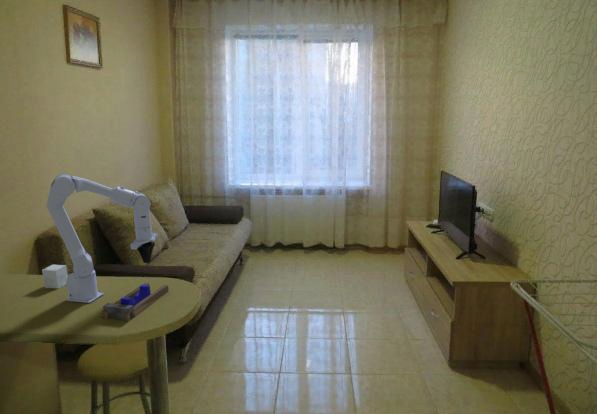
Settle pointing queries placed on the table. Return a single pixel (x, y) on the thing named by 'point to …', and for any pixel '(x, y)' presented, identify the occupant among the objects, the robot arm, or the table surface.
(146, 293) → the cable clip
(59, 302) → the table surface
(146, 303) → the cable track
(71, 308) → the table surface
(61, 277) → the skincare box
